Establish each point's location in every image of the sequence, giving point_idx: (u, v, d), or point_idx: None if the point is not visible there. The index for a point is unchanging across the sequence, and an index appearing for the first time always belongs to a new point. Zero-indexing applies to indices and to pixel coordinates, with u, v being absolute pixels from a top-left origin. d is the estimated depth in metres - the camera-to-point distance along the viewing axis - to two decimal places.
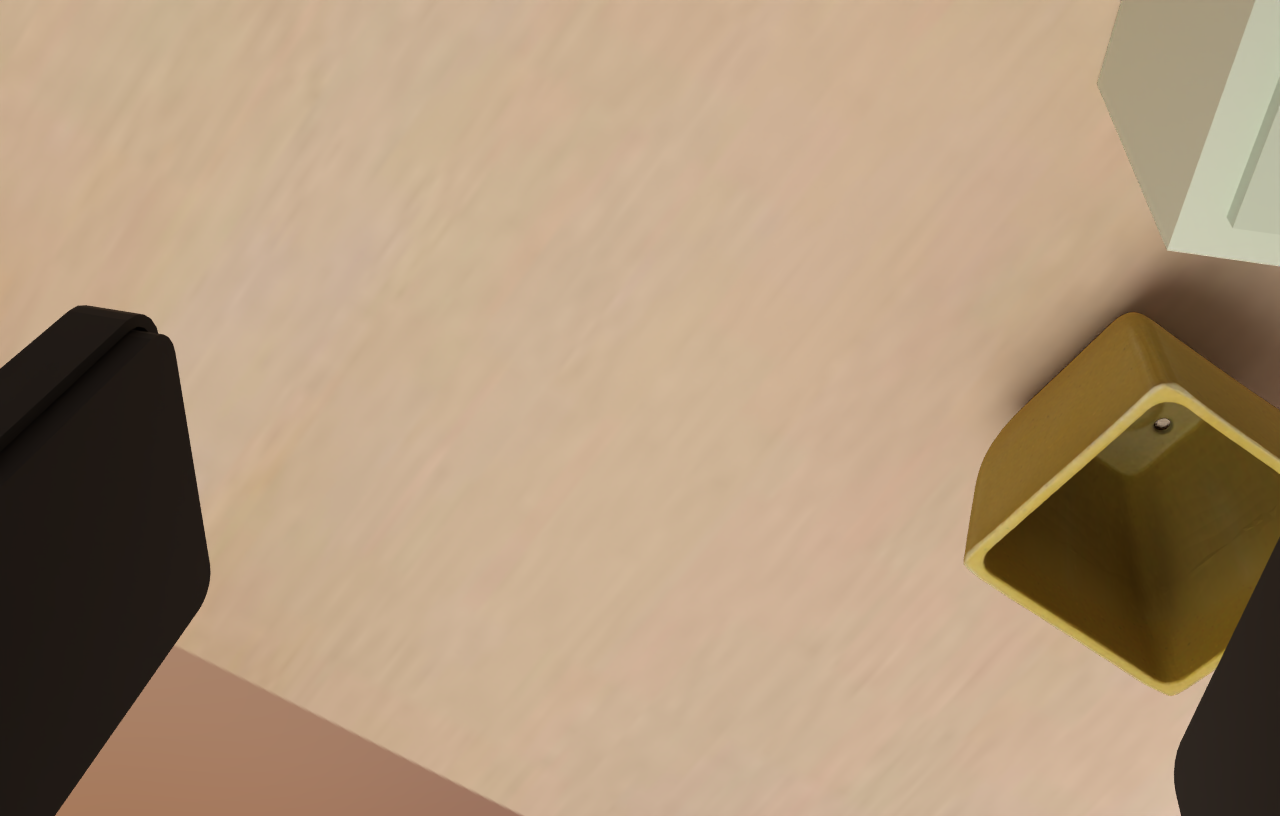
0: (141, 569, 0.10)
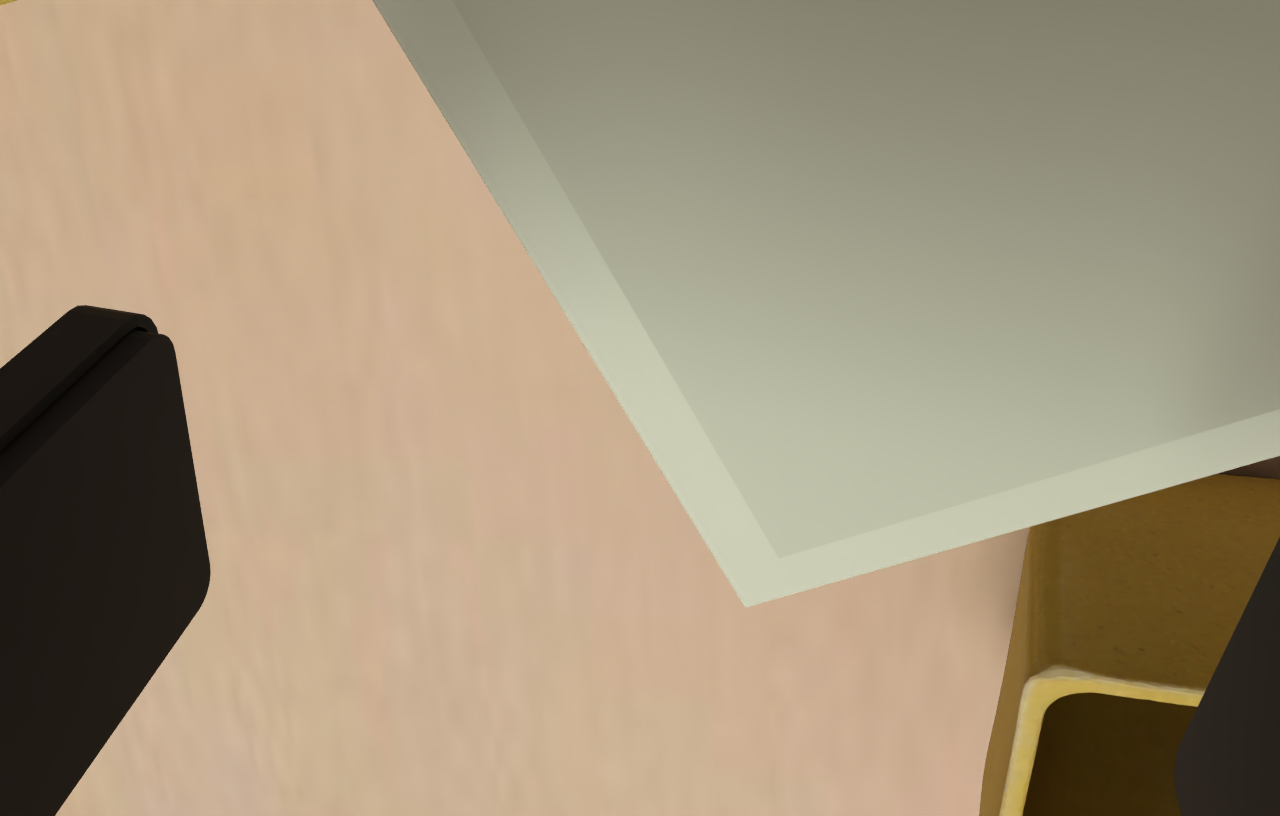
0: (141, 569, 0.10)
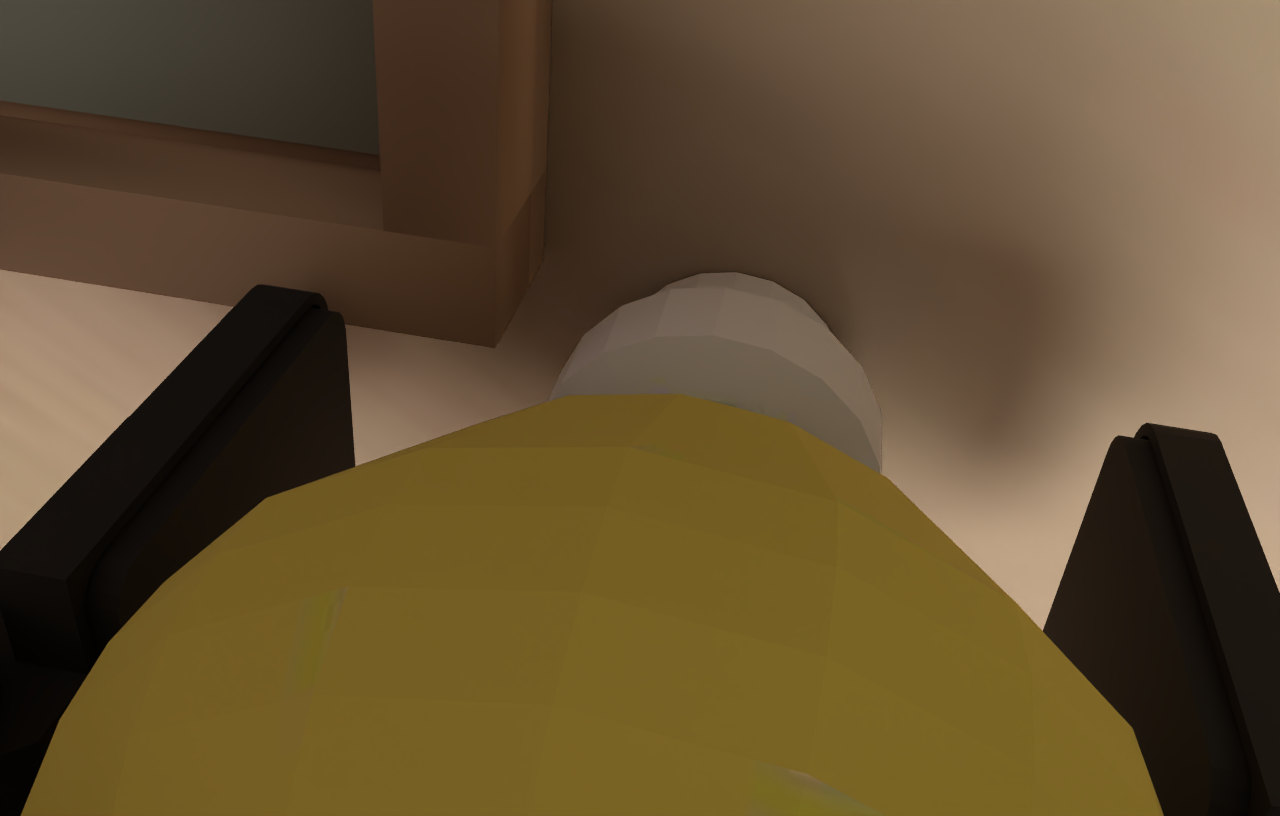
0: None
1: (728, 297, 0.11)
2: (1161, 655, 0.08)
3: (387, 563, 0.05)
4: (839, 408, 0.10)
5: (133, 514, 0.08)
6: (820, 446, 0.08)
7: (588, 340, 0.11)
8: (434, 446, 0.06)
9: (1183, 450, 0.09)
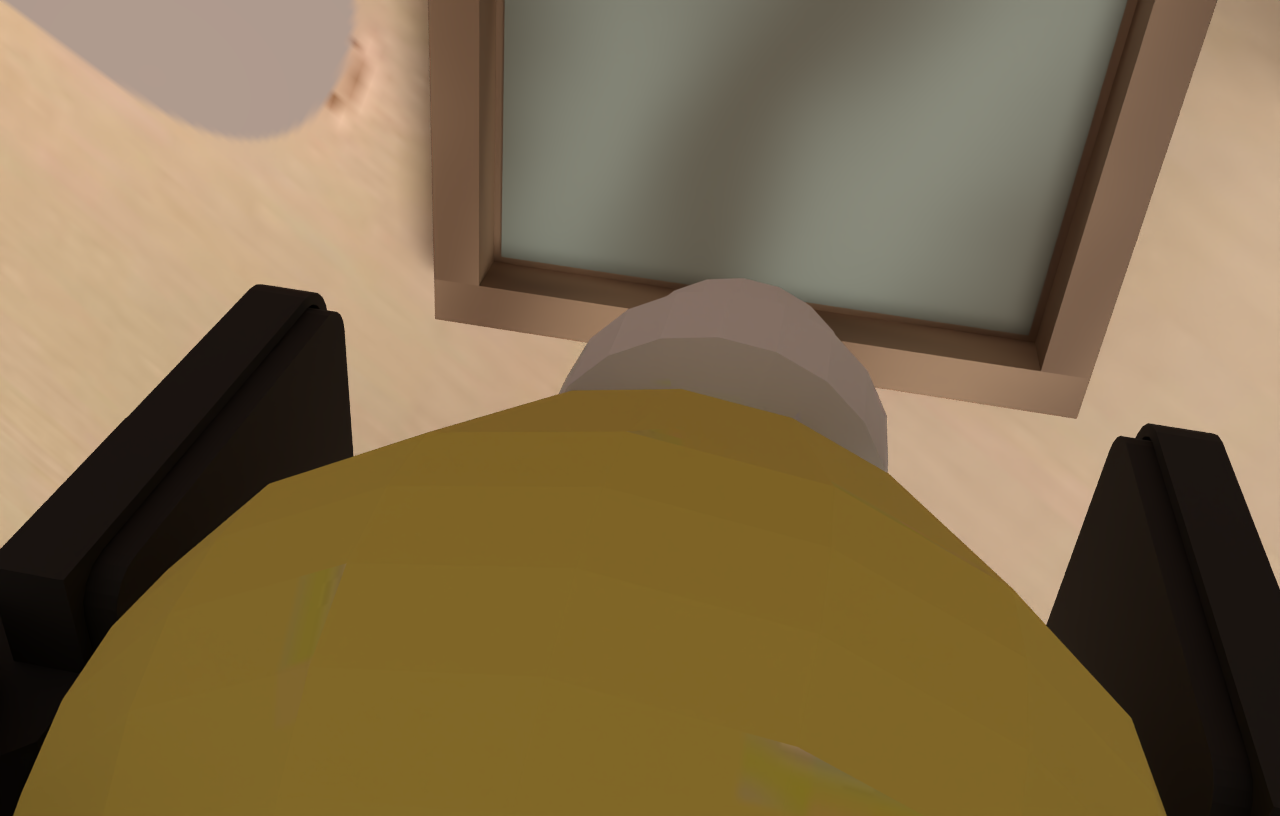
0: None
1: (734, 300, 0.11)
2: (1163, 656, 0.08)
3: (387, 539, 0.05)
4: (844, 411, 0.10)
5: (131, 515, 0.08)
6: (821, 440, 0.08)
7: (595, 343, 0.11)
8: (434, 431, 0.06)
9: (1185, 451, 0.09)
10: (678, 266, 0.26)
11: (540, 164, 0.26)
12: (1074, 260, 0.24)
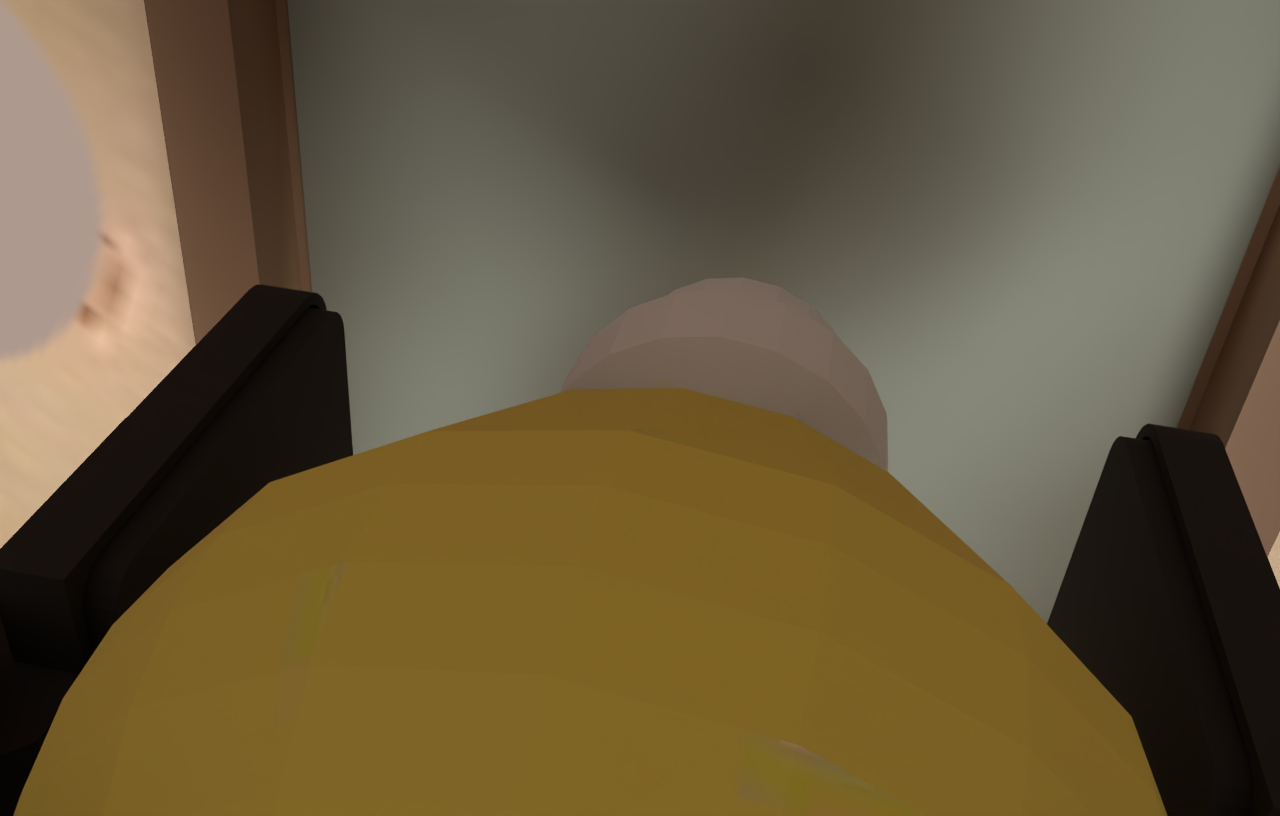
0: None
1: (734, 300, 0.11)
2: (1163, 656, 0.08)
3: (386, 539, 0.05)
4: (844, 410, 0.10)
5: (131, 514, 0.08)
6: (821, 439, 0.08)
7: (595, 342, 0.11)
8: (435, 430, 0.06)
9: (1185, 451, 0.09)
10: None
11: (376, 416, 0.18)
12: None
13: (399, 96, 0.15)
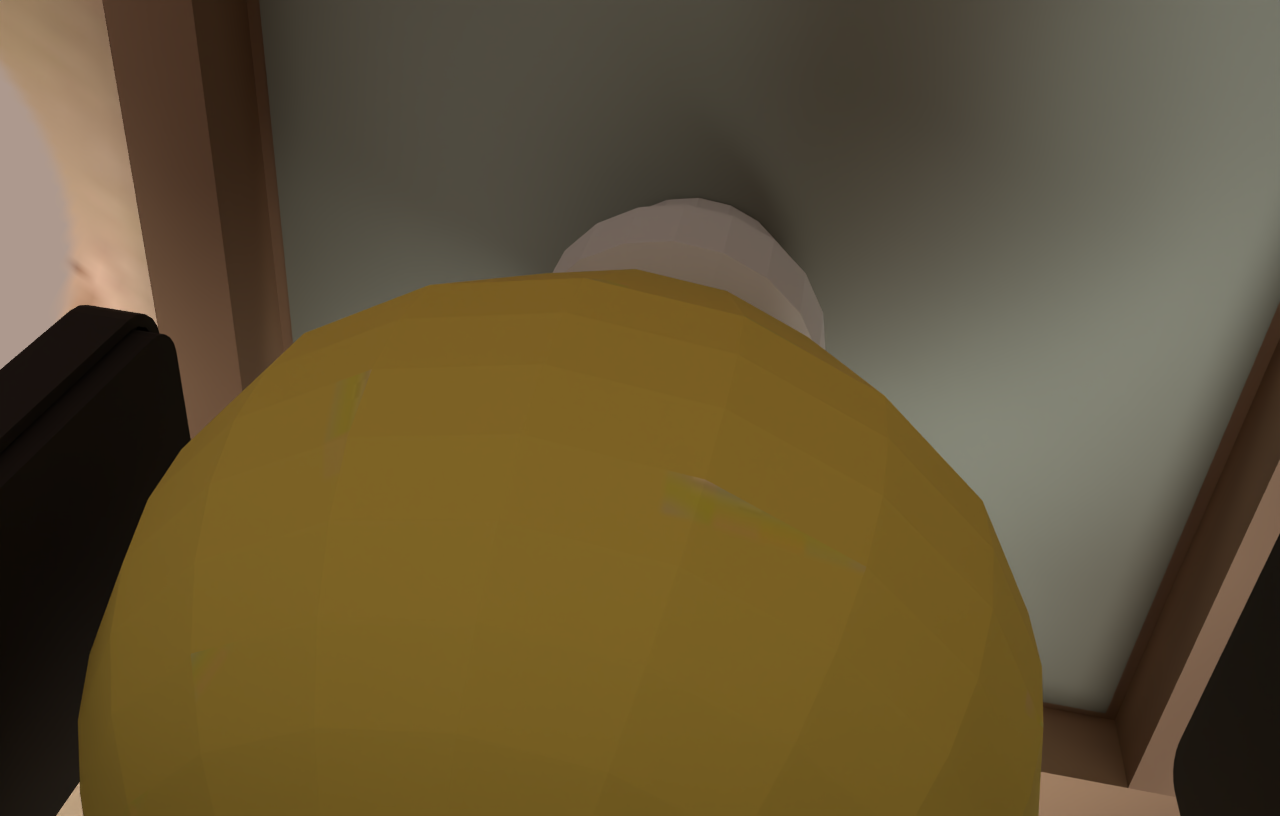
0: None
1: (687, 212, 0.12)
2: None
3: (401, 354, 0.07)
4: (782, 303, 0.12)
5: None
6: (749, 306, 0.09)
7: (568, 253, 0.13)
8: (435, 284, 0.08)
9: None
10: None
11: None
12: (1190, 649, 0.15)
13: (381, 122, 0.14)
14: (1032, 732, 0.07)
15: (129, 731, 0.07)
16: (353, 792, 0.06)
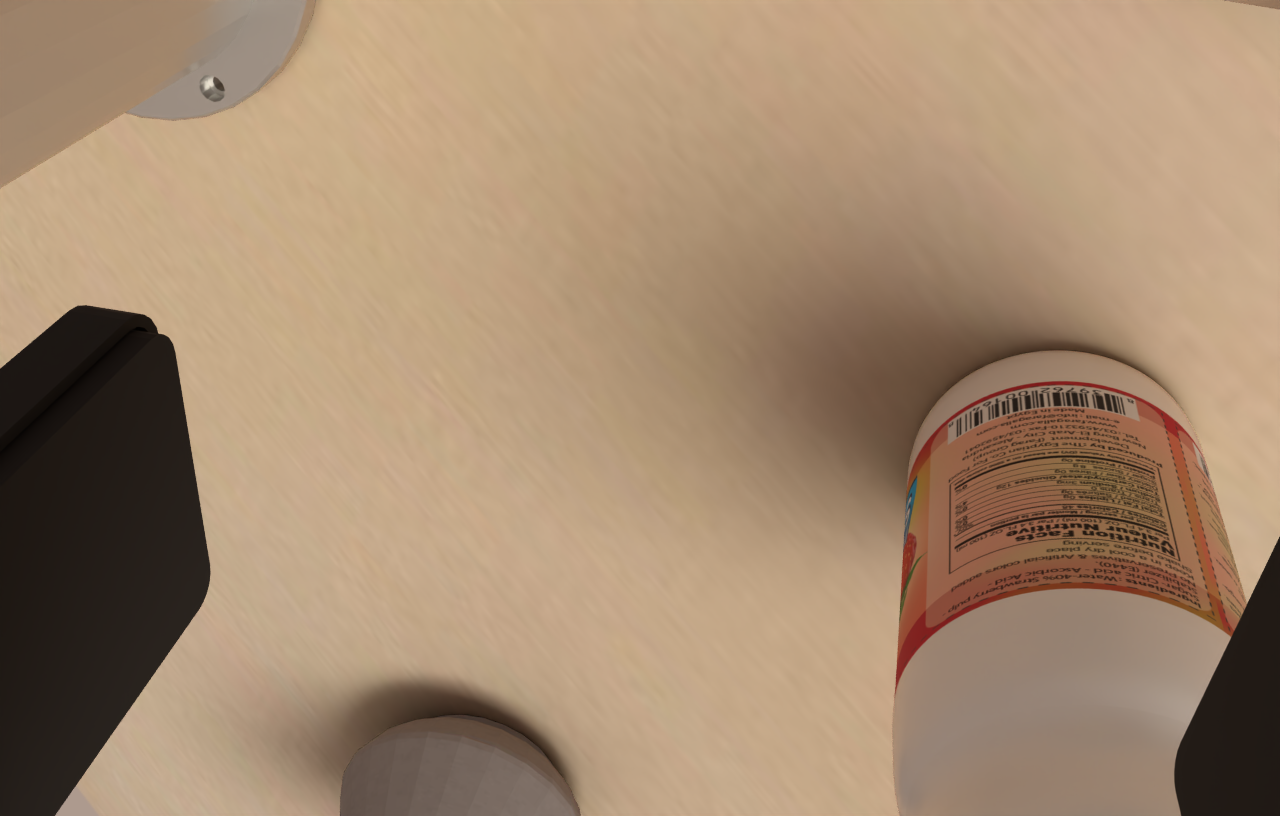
0: (141, 569, 0.10)
1: None
2: None
3: None
4: None
5: None
6: None
7: None
8: None
9: None
10: None
11: None
12: None
13: None
14: None
15: None
16: None
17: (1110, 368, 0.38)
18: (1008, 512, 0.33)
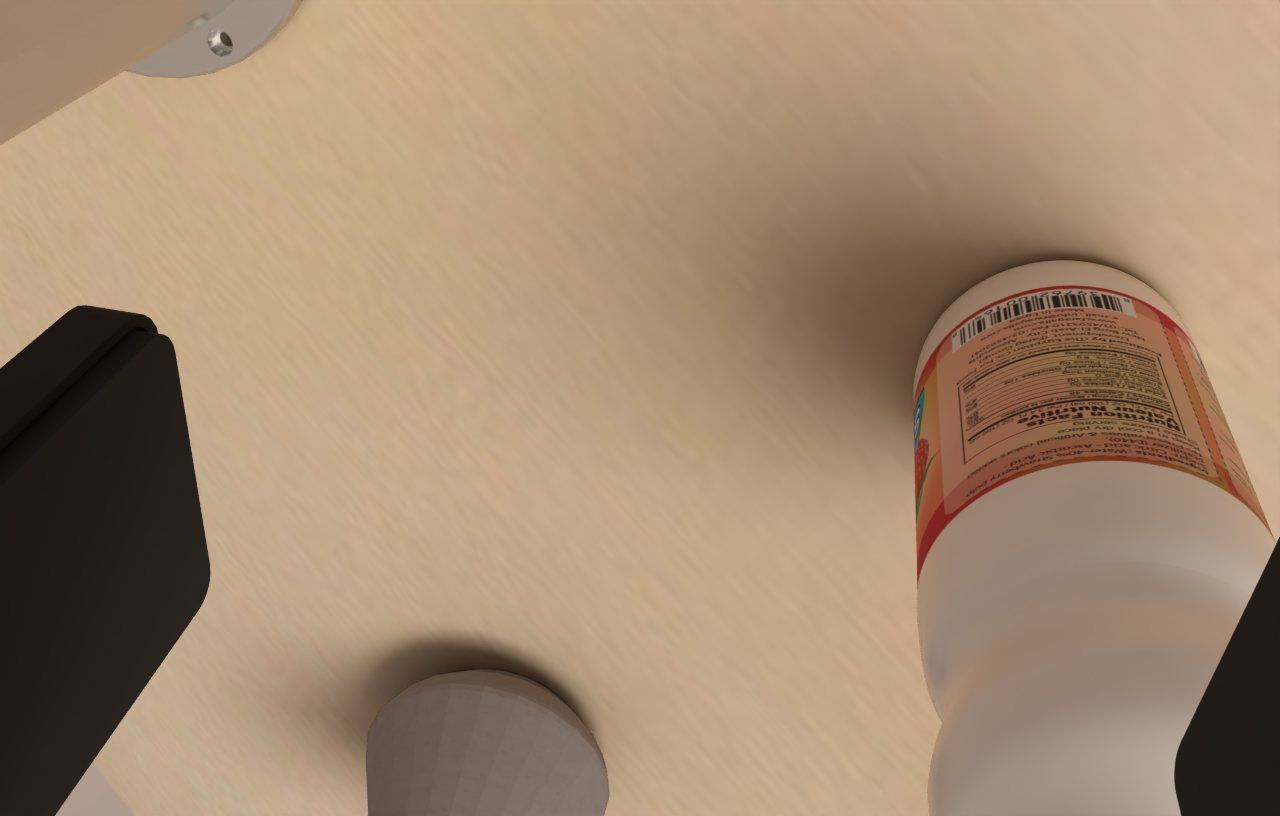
0: (141, 569, 0.10)
1: None
2: None
3: None
4: None
5: None
6: None
7: None
8: None
9: None
10: None
11: None
12: None
13: None
14: None
15: None
16: None
17: (1105, 273, 0.39)
18: (1017, 403, 0.34)
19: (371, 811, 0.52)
